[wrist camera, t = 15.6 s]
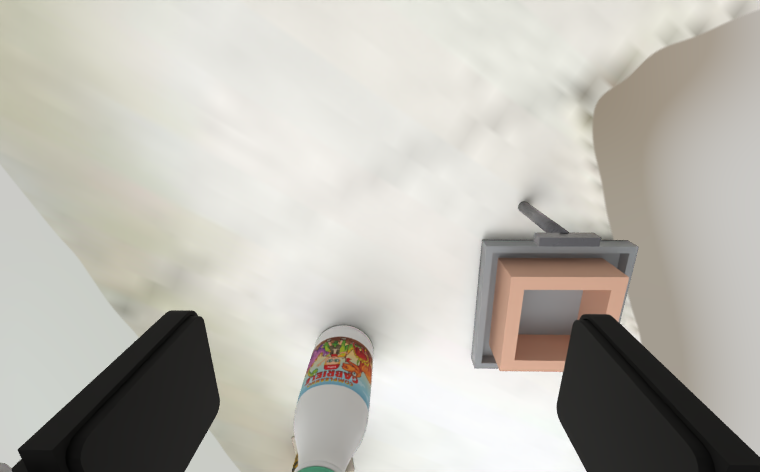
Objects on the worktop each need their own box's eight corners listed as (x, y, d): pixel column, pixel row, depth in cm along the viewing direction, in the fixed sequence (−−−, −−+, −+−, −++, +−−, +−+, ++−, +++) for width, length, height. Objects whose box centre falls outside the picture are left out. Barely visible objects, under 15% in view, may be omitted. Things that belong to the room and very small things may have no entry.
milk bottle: (381, 363, 49) (375, 526, 30) (328, 377, 50) (290, 543, 31) (361, 316, 46) (341, 460, 27) (306, 332, 47) (250, 481, 28)
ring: (498, 257, 42) (511, 276, 38) (602, 258, 42) (629, 277, 37) (488, 344, 46) (499, 370, 42) (584, 345, 46) (605, 372, 41)
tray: (482, 240, 42) (486, 246, 40) (627, 240, 42) (638, 246, 40) (471, 357, 48) (474, 368, 46) (599, 359, 47) (607, 370, 45)
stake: (501, 201, 41) (540, 235, 30) (547, 201, 40) (601, 235, 30) (500, 211, 41) (538, 248, 31) (545, 211, 41) (598, 248, 30)
